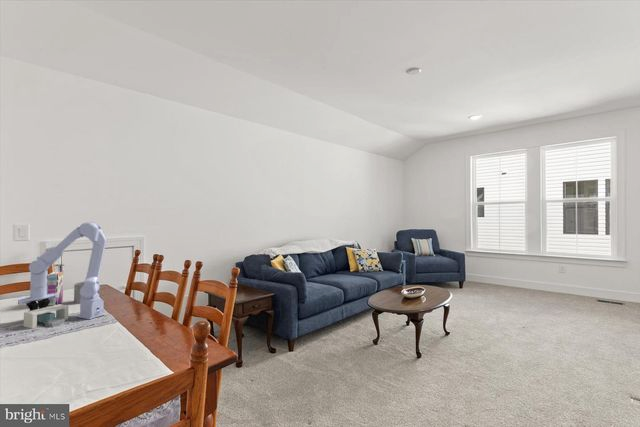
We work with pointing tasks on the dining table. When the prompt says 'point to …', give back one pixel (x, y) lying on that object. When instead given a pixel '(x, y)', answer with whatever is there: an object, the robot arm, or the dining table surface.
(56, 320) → the steel token
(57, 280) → the candy bar box
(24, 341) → the dining table surface
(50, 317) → the slat blade
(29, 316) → the plinth shelf
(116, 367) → the dining table surface
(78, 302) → the cup
